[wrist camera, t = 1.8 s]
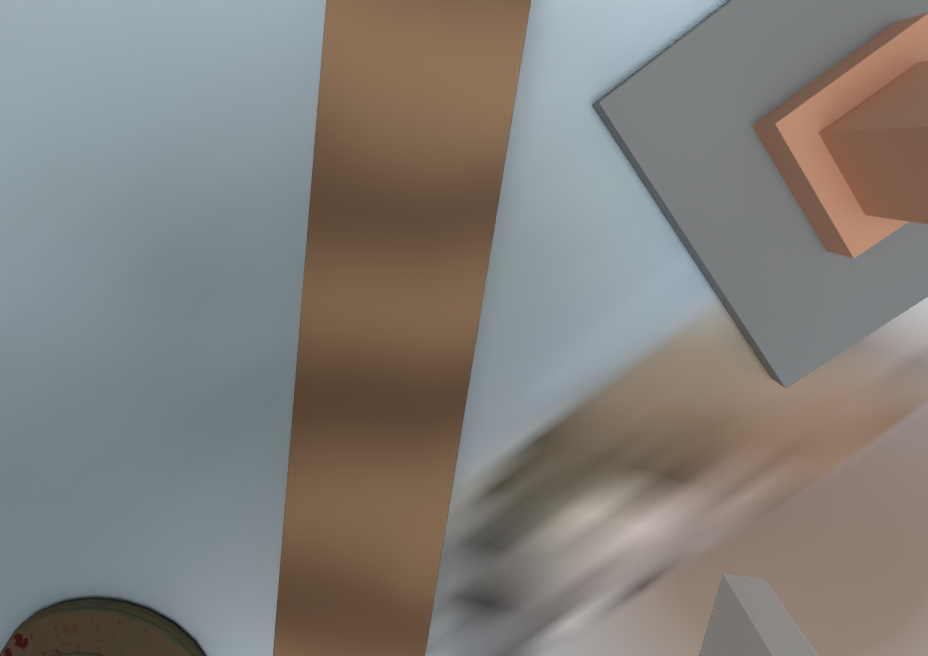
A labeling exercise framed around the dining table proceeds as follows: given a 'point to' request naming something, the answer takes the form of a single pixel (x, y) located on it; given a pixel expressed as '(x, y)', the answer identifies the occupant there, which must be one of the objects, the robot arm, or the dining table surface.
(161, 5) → the dining table surface
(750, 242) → the fulcrum
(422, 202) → the bar
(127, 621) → the candlestick holder
